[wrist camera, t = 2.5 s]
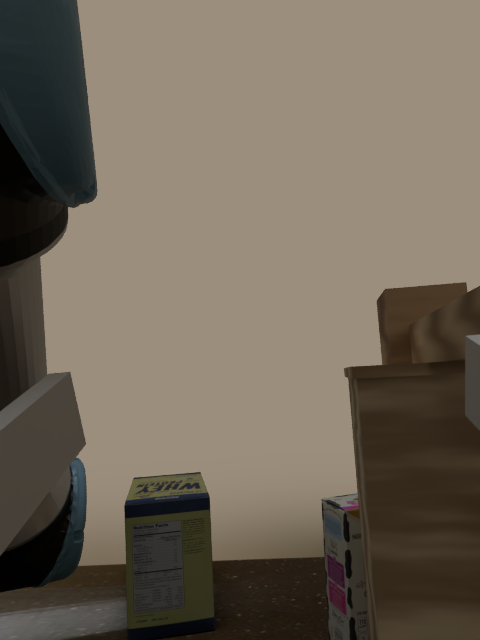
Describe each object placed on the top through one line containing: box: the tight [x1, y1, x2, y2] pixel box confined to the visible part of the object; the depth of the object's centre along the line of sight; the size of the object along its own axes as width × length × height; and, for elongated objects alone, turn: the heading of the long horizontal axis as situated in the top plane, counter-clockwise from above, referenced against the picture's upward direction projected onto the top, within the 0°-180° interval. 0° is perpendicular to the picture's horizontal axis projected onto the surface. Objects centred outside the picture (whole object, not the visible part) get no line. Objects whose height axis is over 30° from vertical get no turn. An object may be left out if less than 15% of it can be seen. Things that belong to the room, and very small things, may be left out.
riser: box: [344, 361, 480, 640], centre depth 34 cm, size 13×13×30 cm
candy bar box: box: [322, 493, 370, 640], centre depth 47 cm, size 11×5×16 cm, turn 110°
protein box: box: [125, 472, 215, 640], centre depth 61 cm, size 10×16×16 cm
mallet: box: [377, 282, 480, 365], centre depth 29 cm, size 24×6×6 cm, turn 169°
